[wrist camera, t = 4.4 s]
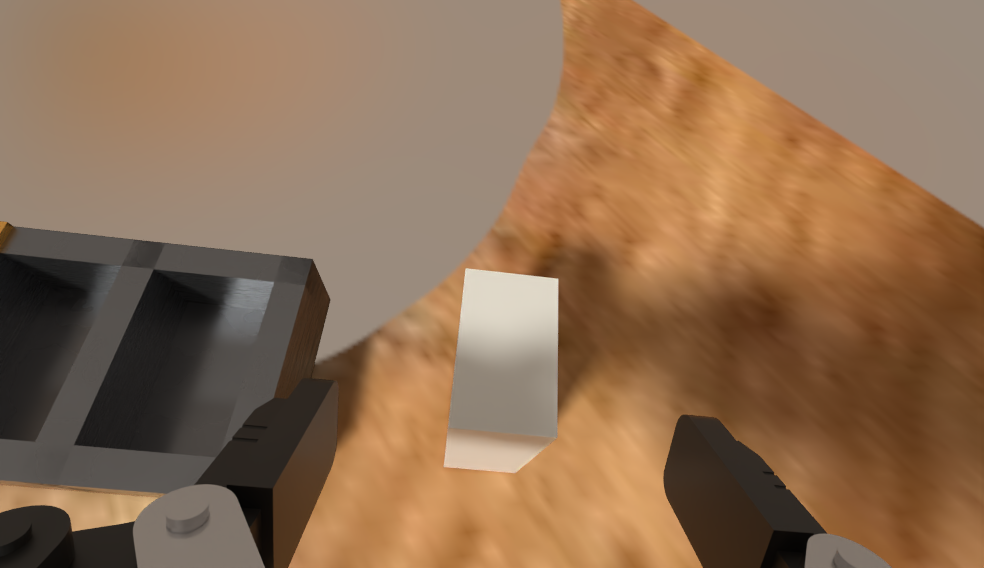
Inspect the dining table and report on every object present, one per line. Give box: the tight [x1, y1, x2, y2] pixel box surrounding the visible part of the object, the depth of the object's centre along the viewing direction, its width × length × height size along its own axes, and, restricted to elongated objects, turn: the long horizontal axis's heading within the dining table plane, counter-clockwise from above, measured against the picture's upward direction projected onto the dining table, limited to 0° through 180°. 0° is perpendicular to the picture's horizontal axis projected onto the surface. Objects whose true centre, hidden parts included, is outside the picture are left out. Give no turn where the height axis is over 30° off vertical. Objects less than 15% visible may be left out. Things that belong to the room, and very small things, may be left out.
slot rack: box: [0, 221, 330, 498], centre depth 19 cm, size 19×9×4 cm, turn 86°
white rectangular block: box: [444, 268, 558, 473], centre depth 18 cm, size 3×5×8 cm, turn 176°
